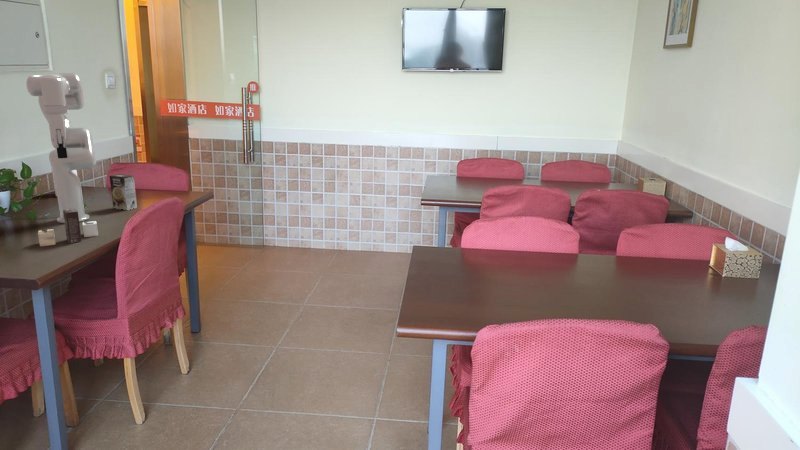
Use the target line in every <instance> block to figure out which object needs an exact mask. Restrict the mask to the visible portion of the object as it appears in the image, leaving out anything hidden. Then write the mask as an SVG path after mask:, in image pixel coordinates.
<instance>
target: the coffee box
mask: <svg viewBox="0 0 800 450" xmlns="http://www.w3.org/2000/svg"><path fill="white" fill-rule="evenodd" d="M109 183H110V190H111V199H112V205H113V206H112V207H113V209H114V208H116V209H115V210H121V209H123V210H122V211H130V209H131V210H134V209H137V208H138V203H137V195H136V193H137V192H136V186H135V185H136V184H135V175H134V174H133V175H132V174H124V173H117V174H111V175H109ZM133 208H134V209H133Z"/></svg>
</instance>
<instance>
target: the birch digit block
mask: <svg viewBox="0 0 800 450" xmlns="http://www.w3.org/2000/svg"><path fill="white" fill-rule="evenodd" d="M37 237H38V242H39V247H46V246H54V245H56V235H55V230H54V228H53V229H52V228H51V229H41V230H38V233H37Z"/></svg>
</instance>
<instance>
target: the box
mask: <svg viewBox="0 0 800 450" xmlns="http://www.w3.org/2000/svg"><path fill="white" fill-rule="evenodd" d="M63 213H64V221H65V223H64V228H65V235H66V236H65V237H66V240H67V242H68V243H70V244H71V243H72V244H75V243H78V242H82V234H81V233H82V232H81V225H80V222H79V216H78V211H76V210H75V209H69V210H63Z"/></svg>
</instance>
